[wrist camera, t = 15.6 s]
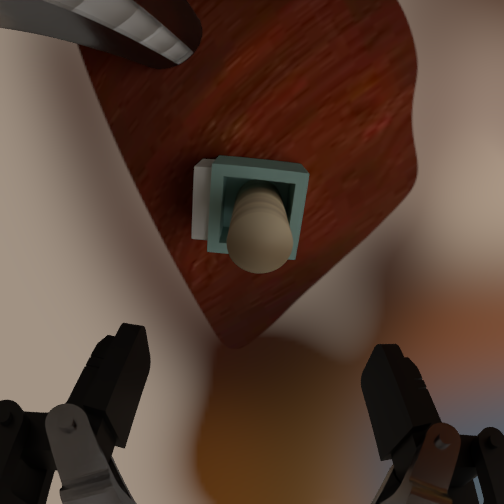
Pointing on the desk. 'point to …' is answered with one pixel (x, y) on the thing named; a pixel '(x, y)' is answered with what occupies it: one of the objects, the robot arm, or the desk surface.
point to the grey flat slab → (201, 199)
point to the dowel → (259, 228)
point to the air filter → (113, 26)
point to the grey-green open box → (240, 172)
